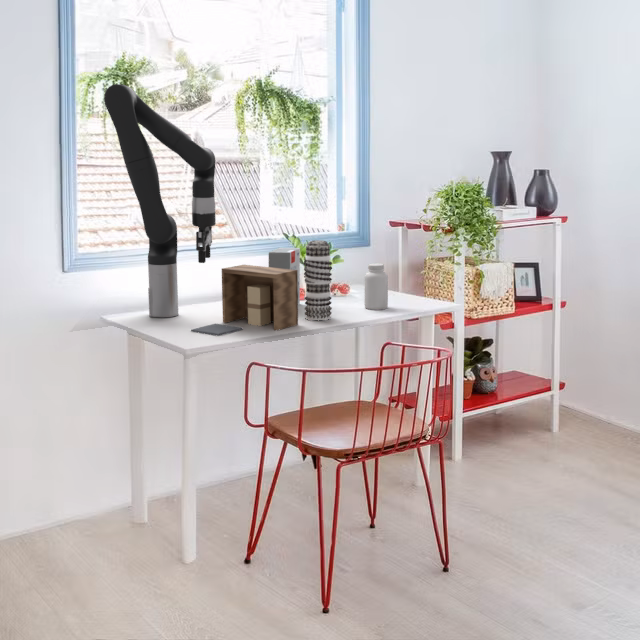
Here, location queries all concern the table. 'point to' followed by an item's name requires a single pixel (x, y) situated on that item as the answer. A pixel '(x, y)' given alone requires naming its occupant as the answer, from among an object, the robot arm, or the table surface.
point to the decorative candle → (317, 280)
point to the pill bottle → (376, 287)
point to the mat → (217, 329)
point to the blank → (259, 305)
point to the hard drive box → (286, 261)
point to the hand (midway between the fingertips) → (204, 260)
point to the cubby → (248, 275)
